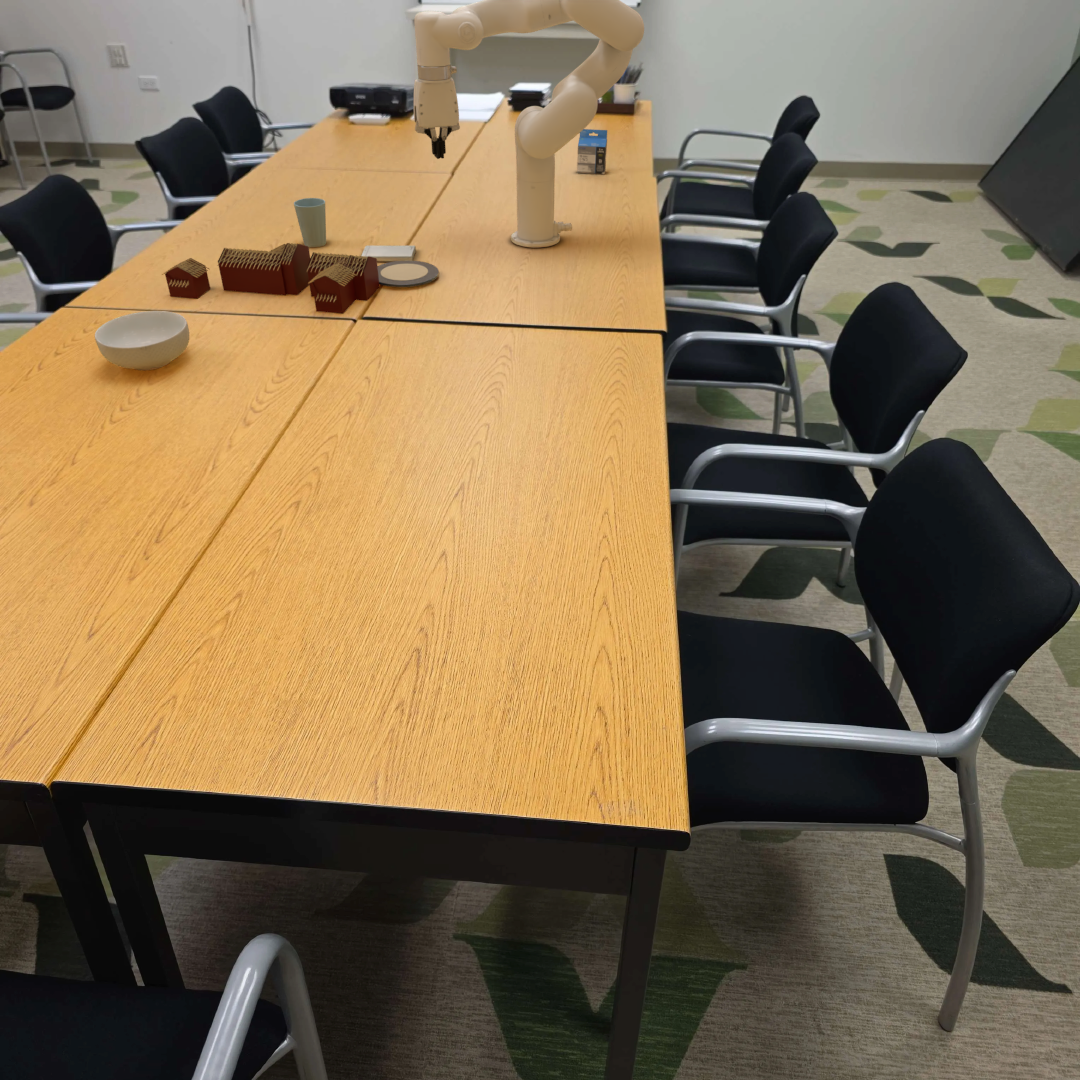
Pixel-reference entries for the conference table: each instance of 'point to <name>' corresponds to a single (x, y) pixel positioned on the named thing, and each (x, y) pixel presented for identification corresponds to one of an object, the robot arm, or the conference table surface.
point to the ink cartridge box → (592, 152)
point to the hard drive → (390, 252)
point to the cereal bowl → (143, 339)
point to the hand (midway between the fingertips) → (439, 157)
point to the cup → (312, 221)
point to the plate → (406, 273)
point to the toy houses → (283, 275)
